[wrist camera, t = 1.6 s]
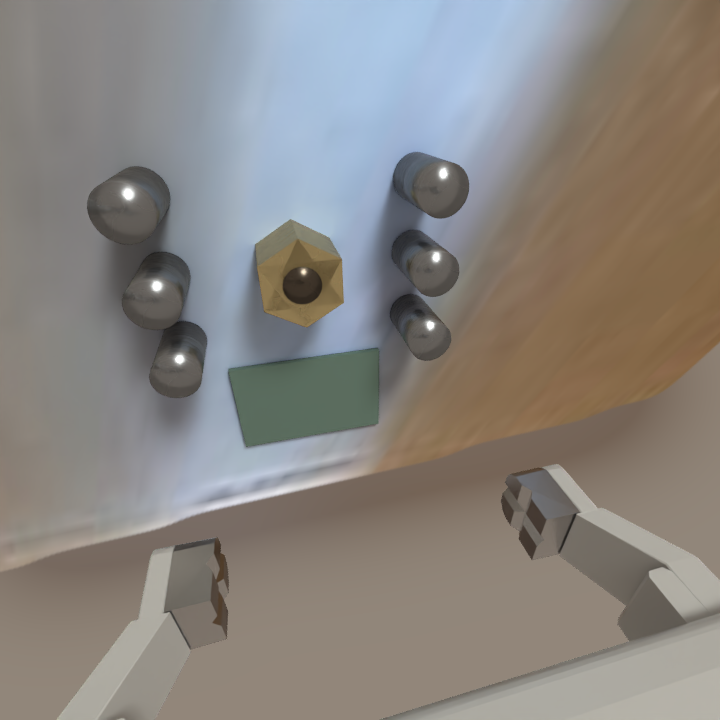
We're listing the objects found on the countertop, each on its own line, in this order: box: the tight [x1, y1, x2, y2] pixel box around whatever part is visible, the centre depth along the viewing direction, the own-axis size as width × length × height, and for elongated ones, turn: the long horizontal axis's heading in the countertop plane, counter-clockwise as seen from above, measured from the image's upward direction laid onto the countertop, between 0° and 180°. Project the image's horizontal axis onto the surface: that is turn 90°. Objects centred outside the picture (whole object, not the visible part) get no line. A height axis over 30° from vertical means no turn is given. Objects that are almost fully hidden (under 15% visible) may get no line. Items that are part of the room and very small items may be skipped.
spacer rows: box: [87, 152, 469, 398], centre depth 27 cm, size 20×13×5 cm, turn 92°
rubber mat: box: [229, 348, 379, 447], centre depth 35 cm, size 12×8×1 cm, turn 92°
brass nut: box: [255, 219, 344, 327], centre depth 27 cm, size 5×6×5 cm
